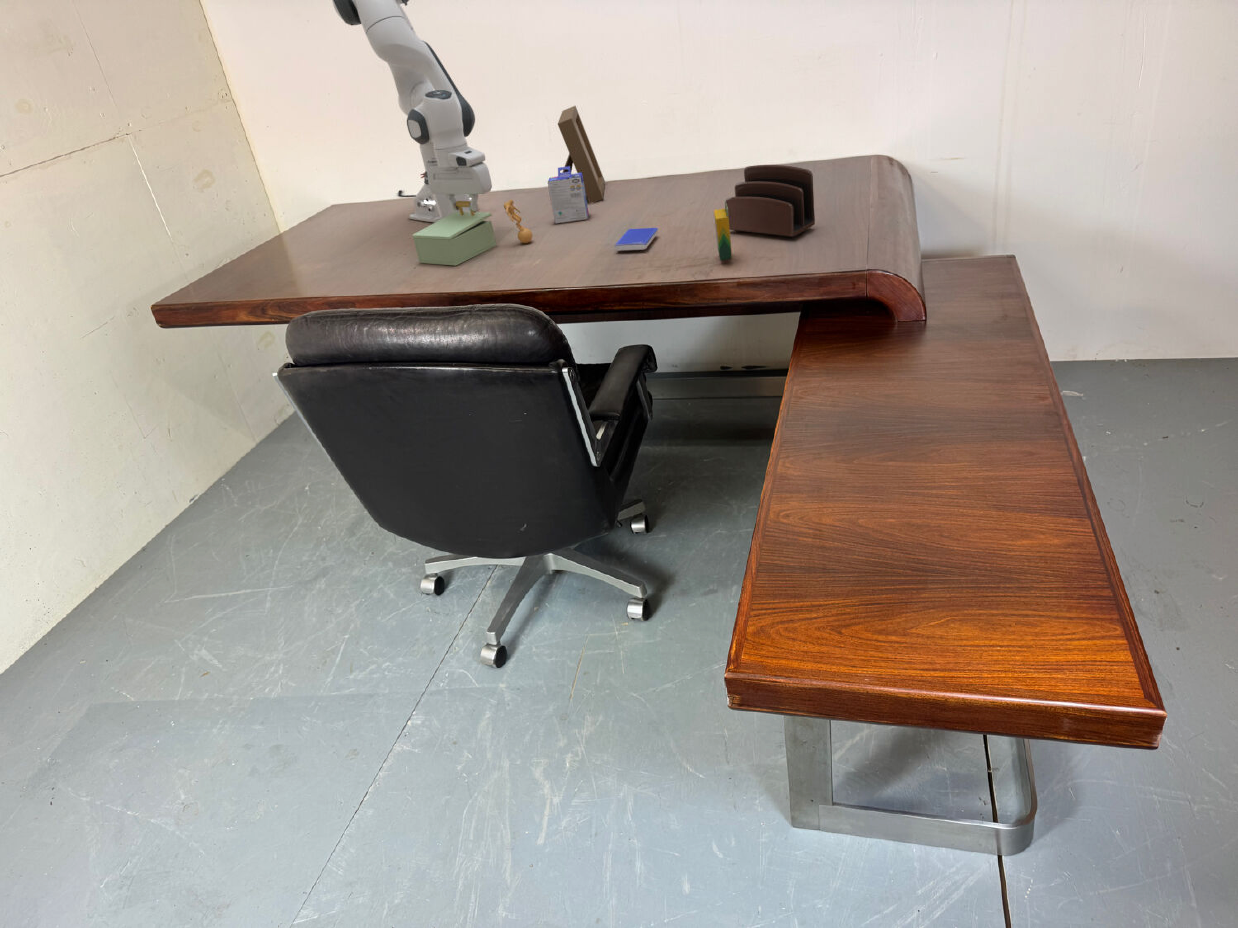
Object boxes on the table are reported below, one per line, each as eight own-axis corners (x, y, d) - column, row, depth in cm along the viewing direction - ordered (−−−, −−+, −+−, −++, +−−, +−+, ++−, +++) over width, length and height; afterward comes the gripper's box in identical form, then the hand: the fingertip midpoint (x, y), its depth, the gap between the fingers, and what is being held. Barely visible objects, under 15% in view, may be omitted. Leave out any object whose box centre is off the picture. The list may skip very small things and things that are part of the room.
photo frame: (605, 184, 275) (593, 102, 262) (603, 202, 257) (590, 115, 243) (560, 190, 276) (546, 110, 263) (555, 208, 258) (540, 123, 245)
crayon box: (717, 250, 199) (713, 201, 193) (729, 249, 199) (726, 200, 193) (719, 261, 193) (715, 210, 187) (732, 259, 193) (728, 208, 187)
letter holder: (748, 218, 218) (745, 162, 211) (815, 225, 206) (814, 166, 198) (725, 230, 213) (721, 173, 205) (793, 238, 200) (791, 178, 193)
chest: (460, 243, 239) (454, 219, 235) (496, 245, 232) (491, 220, 228) (419, 263, 227) (412, 238, 224) (456, 265, 220) (449, 240, 217)
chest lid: (455, 214, 235) (451, 198, 233) (492, 215, 228) (487, 198, 225) (412, 238, 224) (407, 221, 221) (449, 239, 217) (444, 222, 214)
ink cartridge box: (589, 214, 246) (581, 163, 238) (588, 219, 241) (580, 168, 234) (556, 219, 247) (547, 168, 239) (554, 224, 242) (545, 173, 234)
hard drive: (645, 243, 208) (657, 227, 218) (614, 244, 210) (627, 229, 220) (646, 249, 209) (658, 233, 219) (615, 250, 211) (628, 234, 221)
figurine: (530, 247, 226) (521, 202, 219) (508, 249, 227) (499, 205, 220) (536, 237, 233) (527, 193, 226) (515, 239, 234) (506, 196, 227)
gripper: (417, 161, 225) (430, 212, 232) (473, 159, 214) (485, 214, 221) (433, 155, 229) (445, 206, 236) (489, 153, 219) (500, 207, 225)
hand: (465, 210), depth 229 cm, fingers closed on chest lid, 5 cm apart
